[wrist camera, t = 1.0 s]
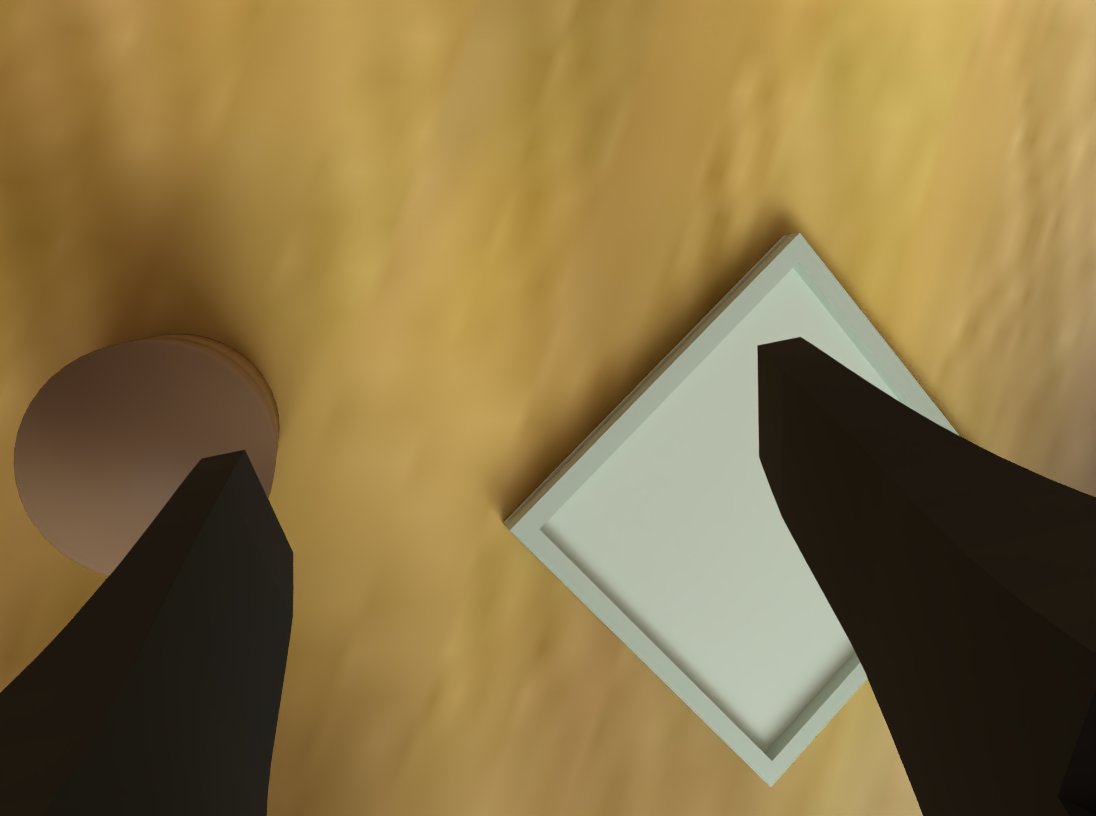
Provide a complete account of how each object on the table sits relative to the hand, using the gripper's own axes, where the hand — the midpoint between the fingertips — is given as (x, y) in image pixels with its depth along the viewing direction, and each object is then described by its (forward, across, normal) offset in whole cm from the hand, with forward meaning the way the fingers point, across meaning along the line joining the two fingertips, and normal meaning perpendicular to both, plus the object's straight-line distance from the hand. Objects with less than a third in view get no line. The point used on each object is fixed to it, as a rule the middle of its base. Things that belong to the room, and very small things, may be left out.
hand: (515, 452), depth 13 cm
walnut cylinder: (+10, +9, +5) cm, 14 cm away
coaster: (+10, -7, +12) cm, 17 cm away
